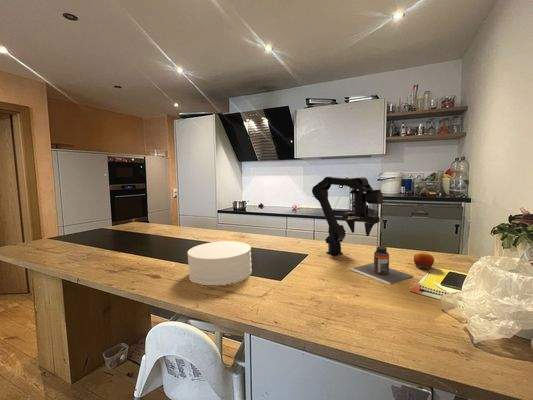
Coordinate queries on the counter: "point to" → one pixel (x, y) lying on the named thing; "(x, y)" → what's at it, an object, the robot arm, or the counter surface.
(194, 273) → the plate stack
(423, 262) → the fruit
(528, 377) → the counter surface
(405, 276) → the mat
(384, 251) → the supplement bottle
